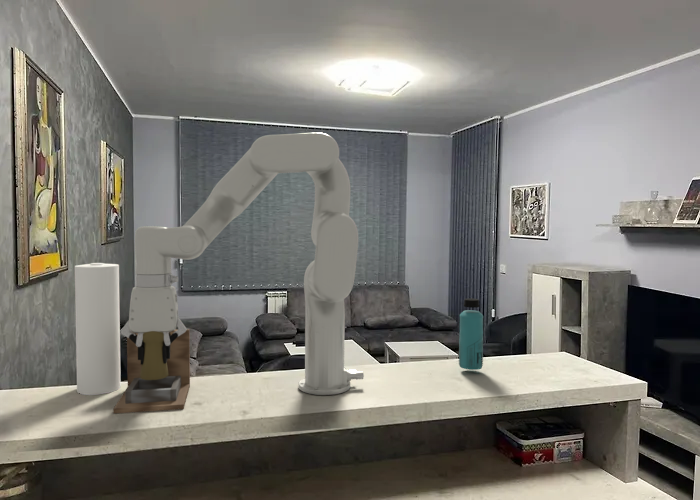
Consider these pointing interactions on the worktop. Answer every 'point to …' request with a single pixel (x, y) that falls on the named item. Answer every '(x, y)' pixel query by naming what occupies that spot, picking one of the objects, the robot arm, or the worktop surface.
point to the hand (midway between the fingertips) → (154, 361)
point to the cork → (153, 357)
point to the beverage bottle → (471, 337)
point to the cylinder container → (97, 328)
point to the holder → (160, 391)
